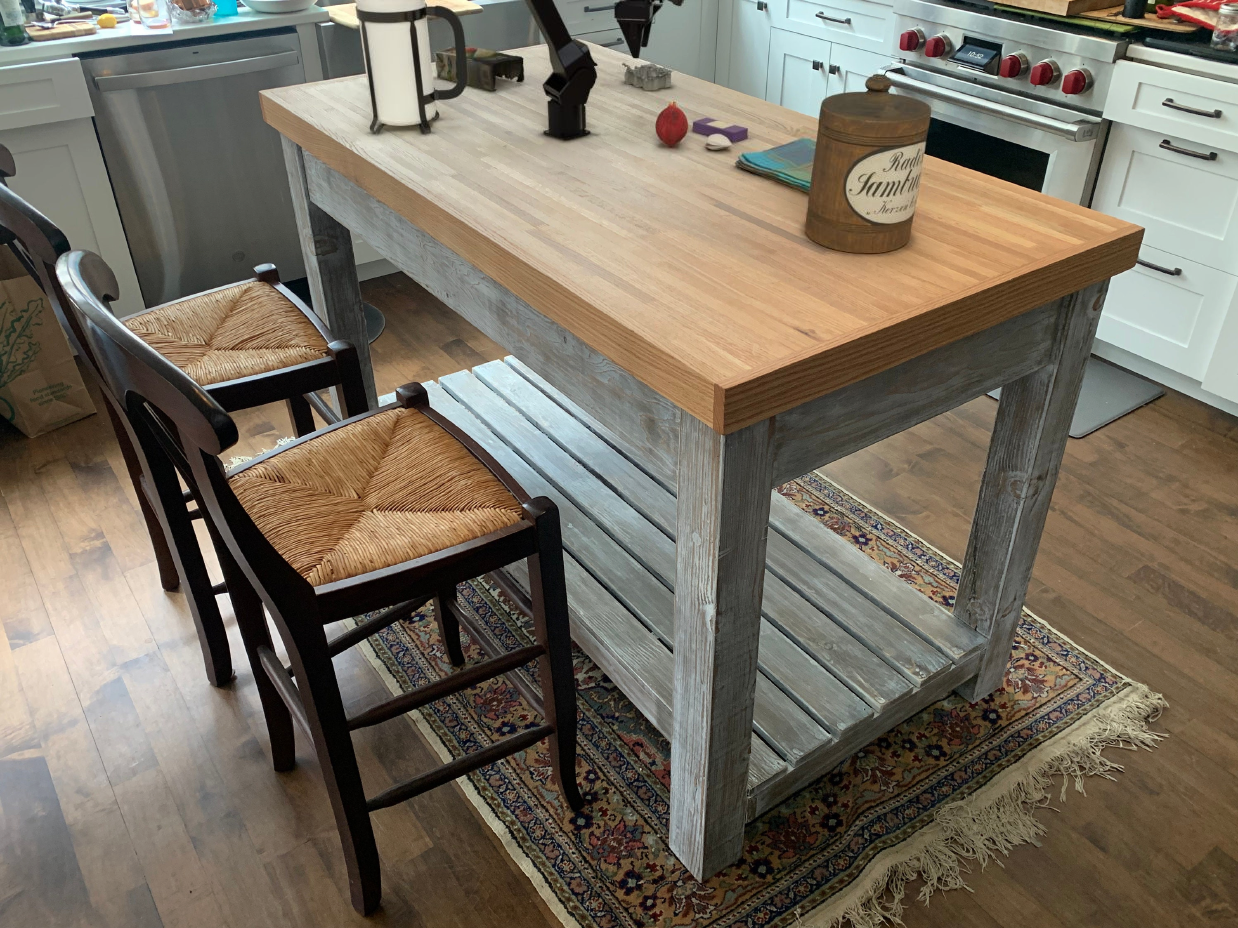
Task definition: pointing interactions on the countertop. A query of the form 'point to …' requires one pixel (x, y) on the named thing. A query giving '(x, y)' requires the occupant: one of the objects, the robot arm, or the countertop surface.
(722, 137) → the white clam shell
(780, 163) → the dish towel
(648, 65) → the egg carton
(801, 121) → the countertop surface
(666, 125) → the onion
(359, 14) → the coffee press
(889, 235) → the wooden container
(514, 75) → the juice carton
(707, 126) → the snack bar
